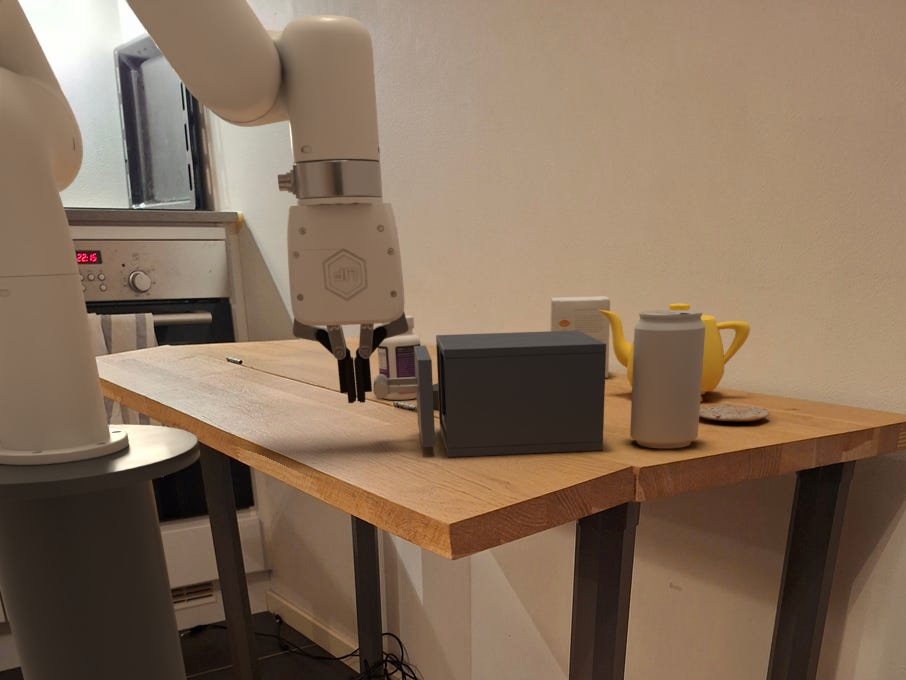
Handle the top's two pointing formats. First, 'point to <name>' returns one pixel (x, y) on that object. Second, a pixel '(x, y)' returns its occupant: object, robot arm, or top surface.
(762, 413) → the flatbread
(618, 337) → the teapot
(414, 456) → the top surface
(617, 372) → the top surface
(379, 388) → the drawer
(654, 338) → the beverage can
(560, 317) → the small box
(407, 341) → the pill bottle
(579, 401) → the cabinet
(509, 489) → the top surface
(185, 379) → the top surface
